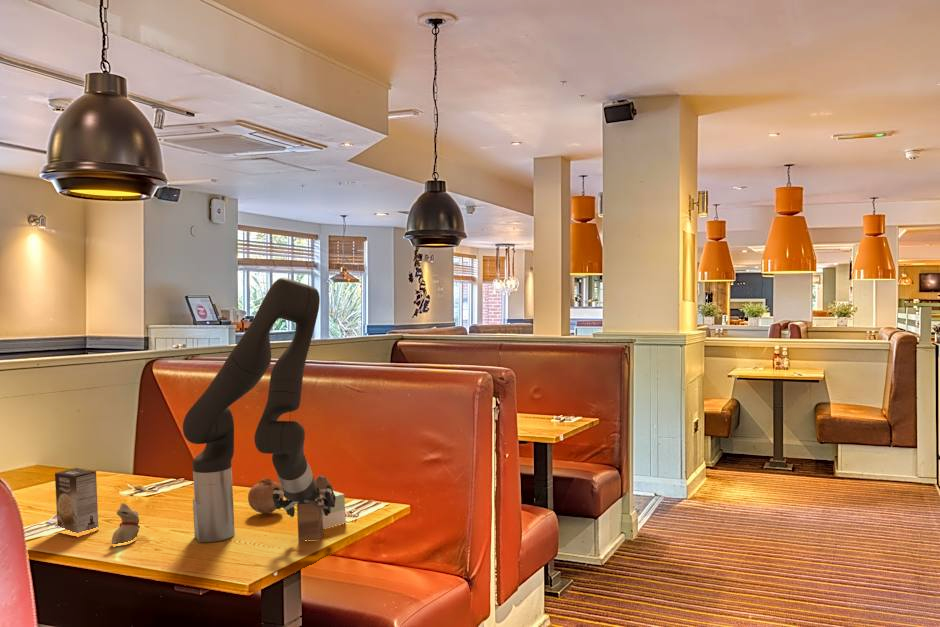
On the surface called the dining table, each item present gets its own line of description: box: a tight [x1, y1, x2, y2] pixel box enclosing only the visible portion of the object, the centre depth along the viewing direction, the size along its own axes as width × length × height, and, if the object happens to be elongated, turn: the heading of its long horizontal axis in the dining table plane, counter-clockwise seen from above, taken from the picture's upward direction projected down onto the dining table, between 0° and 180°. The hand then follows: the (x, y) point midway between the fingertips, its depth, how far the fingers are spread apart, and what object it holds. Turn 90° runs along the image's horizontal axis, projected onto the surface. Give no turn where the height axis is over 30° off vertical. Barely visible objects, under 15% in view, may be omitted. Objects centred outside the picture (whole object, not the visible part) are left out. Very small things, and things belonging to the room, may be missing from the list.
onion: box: [247, 477, 284, 515], centre depth 216 cm, size 10×9×10 cm
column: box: [296, 500, 324, 542], centre depth 194 cm, size 5×5×10 cm
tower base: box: [323, 508, 347, 530], centre depth 205 cm, size 7×7×4 cm
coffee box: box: [54, 467, 99, 533], centre depth 206 cm, size 9×6×16 cm
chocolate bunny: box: [111, 502, 141, 544], centre depth 196 cm, size 6×8×10 cm
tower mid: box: [322, 490, 346, 515], centre depth 205 cm, size 7×7×4 cm
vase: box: [315, 475, 335, 491], centre depth 221 cm, size 7×7×9 cm
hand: (310, 513), depth 193 cm, fingers open, 8 cm apart
